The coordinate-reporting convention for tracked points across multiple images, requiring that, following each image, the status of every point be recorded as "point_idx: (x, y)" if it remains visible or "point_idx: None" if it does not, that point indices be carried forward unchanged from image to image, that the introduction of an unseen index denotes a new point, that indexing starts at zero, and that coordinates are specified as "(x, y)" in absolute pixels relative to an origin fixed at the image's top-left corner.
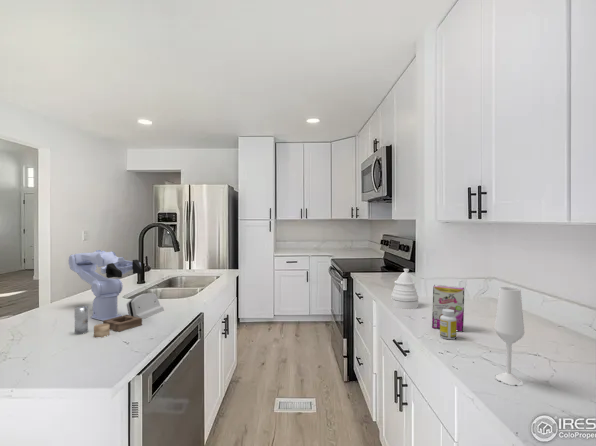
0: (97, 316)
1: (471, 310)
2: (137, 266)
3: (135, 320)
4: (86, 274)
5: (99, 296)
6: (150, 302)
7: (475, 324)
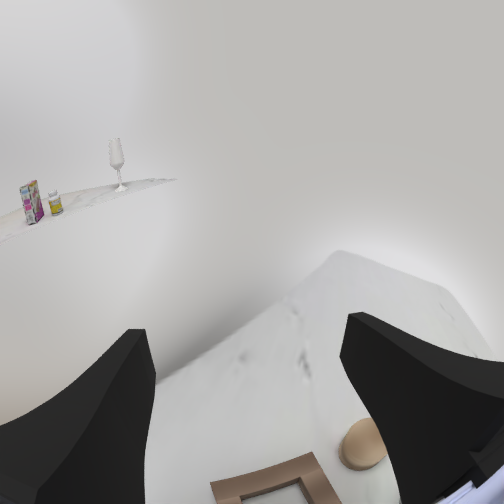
0: None
1: None
2: (118, 385)
3: (240, 475)
4: None
5: None
6: None
7: (24, 218)
